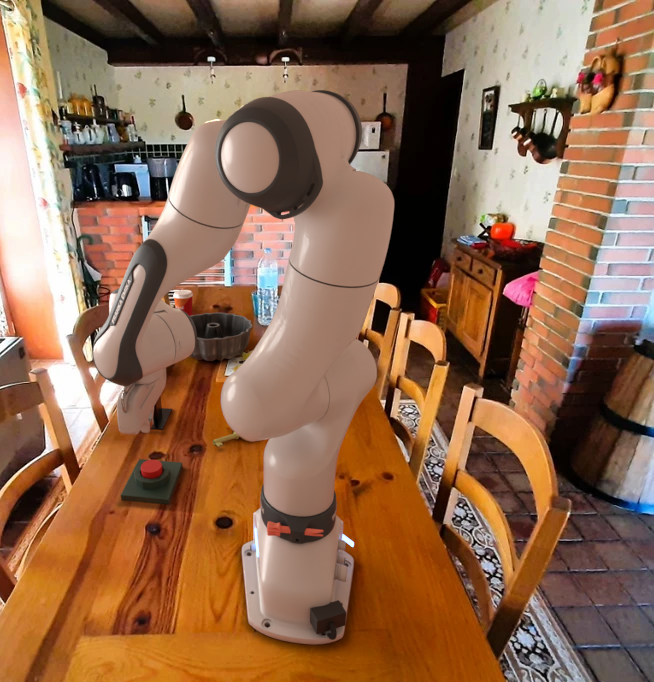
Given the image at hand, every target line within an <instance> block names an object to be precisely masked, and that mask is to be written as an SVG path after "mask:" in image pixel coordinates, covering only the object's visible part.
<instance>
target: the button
mask: <svg viewBox="0 0 654 682" xmlns="http://www.w3.org/2000/svg"><path fill="white" fill-rule="evenodd" d="M147 460H148V461H145V462H144V463H143V464H142V465H141V473H142V476H143V477H144V478H147V479H153V478H157V477H159V476H160V475H161V474H162V472H163V471H162V464H161V462H160V461H161V460H159V459H147Z"/></svg>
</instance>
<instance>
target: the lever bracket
mask: <svg viewBox="0 0 654 682" xmlns="http://www.w3.org/2000/svg"><path fill="white" fill-rule="evenodd" d="M172 412H173V408H166V407H162V395H160V397H159V399H158V400H157V402H156V404H155V406H154V413H153V426H152V427H151V429H150V430H155V431H163V430H164V428H165V426H166V424H167V422H168V420H169V417H170V416H171V413H172Z"/></svg>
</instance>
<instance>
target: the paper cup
mask: <svg viewBox="0 0 654 682" xmlns="http://www.w3.org/2000/svg"><path fill="white" fill-rule="evenodd" d="M193 296H194V293H193V291H192V290H190V289H180V290H175V291H174V293H173V296H172V297H173V298H174V305H175V306H174V308H179V309H181V310H183V311H184V312H186V313H187V314H188V315H189V316H192V315H193Z"/></svg>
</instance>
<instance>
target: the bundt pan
mask: <svg viewBox="0 0 654 682" xmlns="http://www.w3.org/2000/svg"><path fill="white" fill-rule="evenodd" d="M190 317H191V319H192V320H193V322H194V324H195V327H196V332H197V344H196V348H195V350H194V352H193V354H192V355H191V356H189V357H190V358H195V360H197V361H202V360H204V361H206V362H213V361H216V360H217V361H219V362H222V361H223V360H224V359H226V360H231V359H233V358H235V357H236V356H240V355H242V354H243V353H244V352H245V350H246V349H247V347H248V346H249V343H250V337H251V331H252V329H253V327H254V326H253V323H252V320H250V319H248V318H247V317H246V316H243V315H239V314H235V313H227V312H211V313H210V312H204V313H201V314H192V316H190Z"/></svg>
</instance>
